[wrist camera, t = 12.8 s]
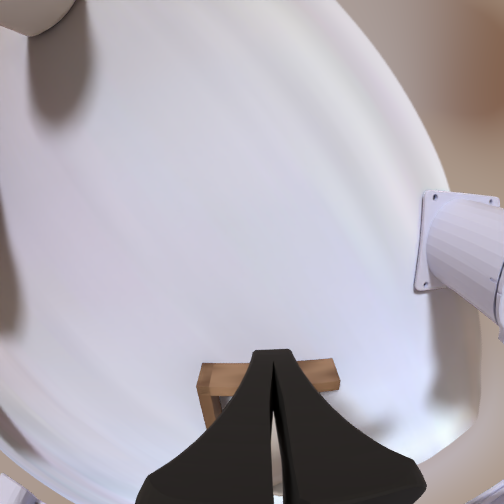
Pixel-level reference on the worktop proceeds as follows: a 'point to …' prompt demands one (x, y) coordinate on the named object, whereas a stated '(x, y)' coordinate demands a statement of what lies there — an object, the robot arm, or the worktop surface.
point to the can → (32, 14)
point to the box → (231, 374)
